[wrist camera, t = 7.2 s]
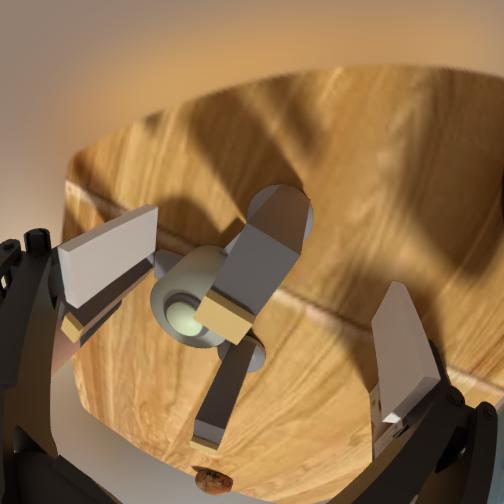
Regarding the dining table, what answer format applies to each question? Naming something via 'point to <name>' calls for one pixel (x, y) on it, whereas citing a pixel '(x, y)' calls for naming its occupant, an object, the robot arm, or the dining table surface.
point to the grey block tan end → (225, 391)
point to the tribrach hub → (186, 291)
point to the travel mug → (66, 347)
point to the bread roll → (213, 483)
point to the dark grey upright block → (257, 261)
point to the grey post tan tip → (101, 300)
